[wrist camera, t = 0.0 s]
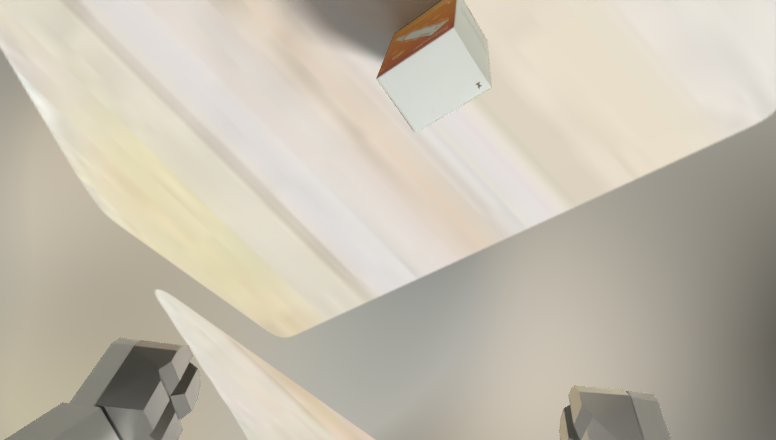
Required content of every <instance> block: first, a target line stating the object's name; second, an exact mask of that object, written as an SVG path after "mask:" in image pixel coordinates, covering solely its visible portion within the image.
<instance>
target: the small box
mask: <svg viewBox="0 0 776 440" xmlns="http://www.w3.org/2000/svg"><path fill="white" fill-rule="evenodd" d="M377 80H378V82H379V83H380V84H381V86H382V87H383V89H384V90H385V92H386V93H387V94H388V96H389V97H390V99H391V100H392V101H393V103H394V104H395V106H396V107H397V108H398V110H399V111H400V113H401V114H402V115H403V117H404V118H405V120H406V121H407V123H408V124H409V125H410V127H411V128H412V130H413V131H414V132H417V131H419V130H421V129H422V128H424V127H426V126H428V125H430V124H431V123H433V122H435V121H437V120H438V119H440V118H442V117H444V116H446V115H448V114H450V113H452V112H453V111H455V110H457V109H458V108H460V107H461V106H463V105H464V104H466V103H467V102H469V101H471V100H472V99H474V98H476V97H477V96H479V95H480V94H482V93H484V92H486V91H487V90H489V89H490V88H492V83H491V73H490V62H489V51H488V42H487V39H486V37H485V35H484V34H483V32H482V30H481V29H480V27H479V25H478V23H477V22H476V20H475V18H474V17H473V15H472V13H471V12H470V10H469V8H468V6H467V5H466V3H465V1H464V0H441V1H440V2H439V3H437V4H436V5H434V6H433V7H432V8H430V9H429V10H427V11H426V12H425V13H423V14H422V15H420V16H419V17H417V18H416V19H415V20H413V21H412V22H410V23H409V24H407V25H406V26H404V27H403V28H402V29H400V30H399V31H397V32H396V33H394V35H393V38H392V40H391V43H390V46H389V48H388V51H387V53H386V56H385V58H384V61H383V63H382V66H381V68H380V71H379V73H378V76H377Z"/></svg>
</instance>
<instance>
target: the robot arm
mask: <svg viewBox="0 0 776 440" xmlns="http://www.w3.org/2000/svg"><path fill="white" fill-rule="evenodd" d="M192 356H193V355H192V352H191V350H190V348H189V346H184V345H177V344H168V343H159V342H151V341H144V340H137V339H127V338H119V339H117V340H116V341H114V342H113V343H112V344H111V345H110V346H109V348H108V349H107V351H106V352H105V354H104V355H103V356H102V358H101V359H100V361H99V362H98V363H97V365H96V366H95V368H94V369H93V370H92V372H91V373H90V375H89V376H88V378H87V379H86V380H85V382H84V383H83V384H82V386H81V387H80V389H79V390H78V392H77V393H76V395H75V396H74V397H73V399H72V400H71V401H70V403H61V404H60V405H58V406H57V407H55V408H53V409H52V410H50V411H49V412H47V413H46V414H44V415H42V416H41V417H40V418H38V419H36V420H35V421H33V422H31V423H30V424H28V425H27V426H25V427H24V428H22V429H20V430H19V431H17V432H16V433H14V434H13V435H11V436H10V437H8V438H6V439H5V440H178V439H179V436H180V434H181V432H182V425H181V421H180V419H182V418H183V417H184V416H186V415H187V414H188V413H190V412H191V411H192V409H193V407H194V405H195V402H196V401H197V398H198V394H199V389H200V374H199V371H198V368H196V367H195V366H194V365H193V364H191V363H190V360H191V358H192ZM569 401H570V405H569V406H567V407H565V408H564V409H563V412H562V415H561V419H560V430H559V433H560V440H672V439H671V436H670V433H669V431H668V428H667V425H666V422H665V419H664V416H663V414H662V411H661V408H660V405H659V402H658V400H657V398H656V397H655V396H654V395H653V394H651V393H642V392H631V391H624V390H619V389H607V388H596V387H585V386H574V387H572V388H571V391H570V393H569Z"/></svg>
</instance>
